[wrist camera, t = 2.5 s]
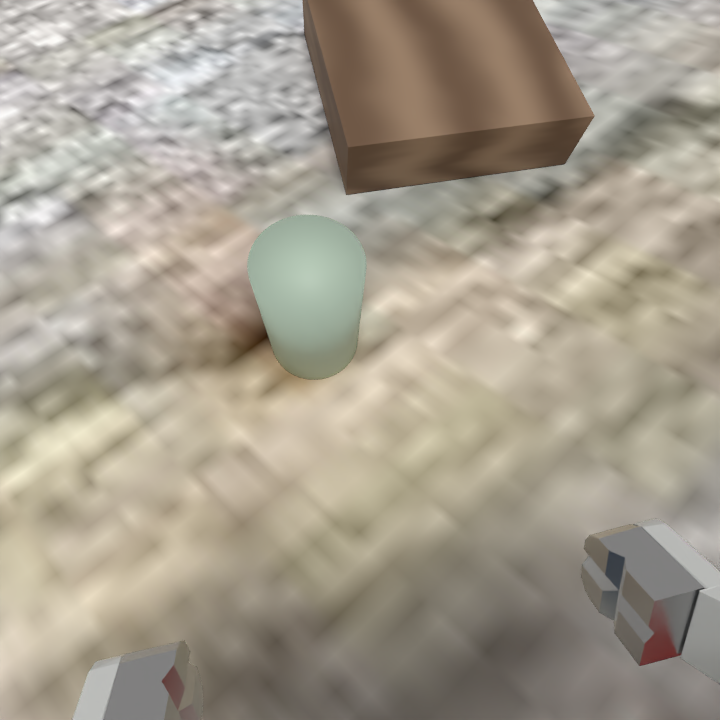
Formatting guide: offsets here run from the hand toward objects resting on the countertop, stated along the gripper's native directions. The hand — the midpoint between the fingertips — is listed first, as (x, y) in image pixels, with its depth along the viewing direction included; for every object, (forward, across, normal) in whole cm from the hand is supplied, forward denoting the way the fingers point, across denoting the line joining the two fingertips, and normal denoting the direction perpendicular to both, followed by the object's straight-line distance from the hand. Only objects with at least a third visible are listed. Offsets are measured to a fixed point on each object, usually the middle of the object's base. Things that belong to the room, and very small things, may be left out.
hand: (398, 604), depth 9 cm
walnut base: (+32, -12, -11) cm, 36 cm away
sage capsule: (+19, 0, +2) cm, 19 cm away
